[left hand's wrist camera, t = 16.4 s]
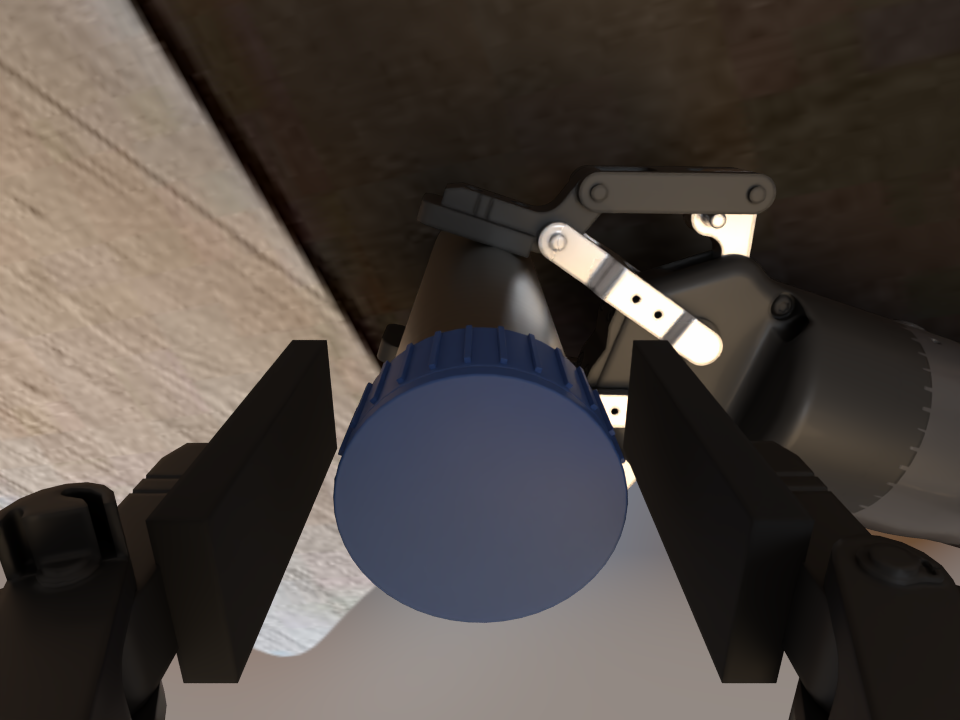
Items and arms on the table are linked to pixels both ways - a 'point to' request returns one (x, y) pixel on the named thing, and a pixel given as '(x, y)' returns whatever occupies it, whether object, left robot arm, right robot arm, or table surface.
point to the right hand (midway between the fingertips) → (403, 277)
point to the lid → (480, 477)
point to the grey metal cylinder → (478, 293)
